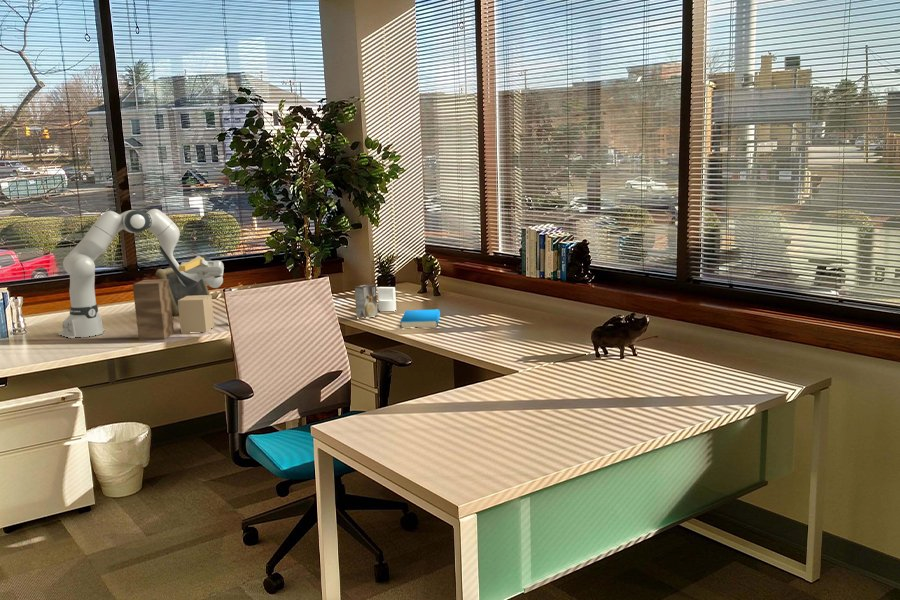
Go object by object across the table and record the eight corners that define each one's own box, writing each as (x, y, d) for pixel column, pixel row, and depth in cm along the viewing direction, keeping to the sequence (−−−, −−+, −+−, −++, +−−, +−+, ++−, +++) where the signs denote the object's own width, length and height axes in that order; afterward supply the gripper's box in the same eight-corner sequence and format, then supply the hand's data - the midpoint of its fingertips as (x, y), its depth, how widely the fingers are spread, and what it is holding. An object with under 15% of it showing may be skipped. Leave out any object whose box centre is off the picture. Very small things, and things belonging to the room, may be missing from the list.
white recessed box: (376, 312, 428) (374, 289, 426) (382, 308, 436) (381, 285, 434) (392, 312, 425) (391, 289, 423) (399, 309, 433) (397, 286, 431)
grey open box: (180, 316, 439) (175, 269, 434) (157, 316, 443) (152, 269, 438) (213, 304, 470) (209, 260, 465) (191, 304, 473) (187, 260, 469)
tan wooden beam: (198, 262, 412) (197, 257, 412) (204, 262, 412) (203, 257, 411) (179, 271, 387) (178, 266, 386) (185, 271, 386) (184, 265, 386)
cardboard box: (190, 328, 408) (186, 295, 406) (214, 327, 408) (211, 295, 405) (181, 333, 397) (177, 300, 394) (206, 333, 396) (202, 299, 393)
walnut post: (149, 334, 399) (143, 280, 394) (174, 333, 398) (168, 279, 394) (138, 340, 387) (132, 284, 383) (164, 339, 387) (158, 283, 382)
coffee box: (368, 315, 421) (366, 283, 418) (378, 316, 417) (376, 284, 414) (356, 318, 414) (354, 286, 411) (365, 320, 410) (363, 287, 407)
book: (400, 321, 387) (404, 309, 411) (401, 330, 388) (405, 318, 412) (437, 319, 386) (439, 308, 411) (438, 329, 387) (440, 317, 411)
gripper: (186, 266, 420) (176, 255, 407) (226, 264, 419) (217, 254, 406) (185, 278, 418) (174, 268, 405) (225, 276, 417) (216, 266, 404)
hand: (196, 261), depth 406 cm, fingers closed on tan wooden beam, 3 cm apart
